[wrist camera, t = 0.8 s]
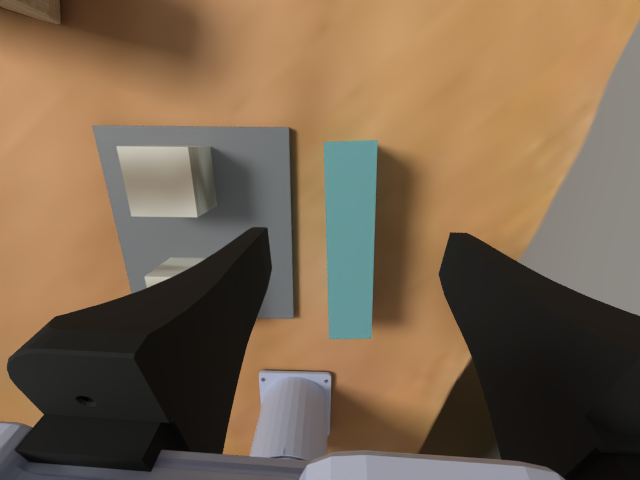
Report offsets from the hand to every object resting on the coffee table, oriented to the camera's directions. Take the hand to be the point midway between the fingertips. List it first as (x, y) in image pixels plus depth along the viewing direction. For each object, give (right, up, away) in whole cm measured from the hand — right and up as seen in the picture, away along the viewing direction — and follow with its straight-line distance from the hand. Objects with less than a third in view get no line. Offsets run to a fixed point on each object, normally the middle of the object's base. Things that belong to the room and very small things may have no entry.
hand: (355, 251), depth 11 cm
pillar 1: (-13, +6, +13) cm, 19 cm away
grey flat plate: (-12, +1, +15) cm, 19 cm away
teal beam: (+1, +1, +15) cm, 15 cm away
